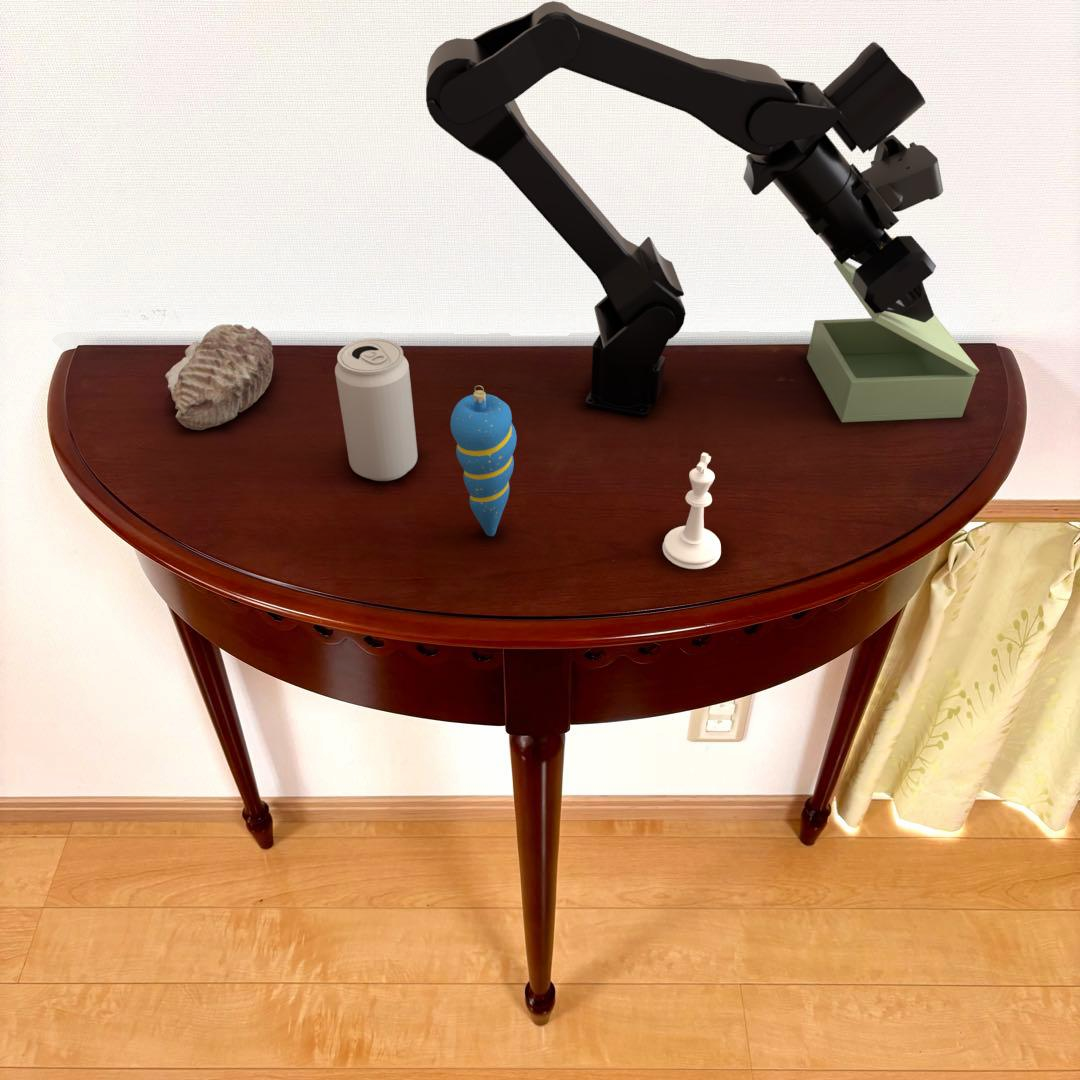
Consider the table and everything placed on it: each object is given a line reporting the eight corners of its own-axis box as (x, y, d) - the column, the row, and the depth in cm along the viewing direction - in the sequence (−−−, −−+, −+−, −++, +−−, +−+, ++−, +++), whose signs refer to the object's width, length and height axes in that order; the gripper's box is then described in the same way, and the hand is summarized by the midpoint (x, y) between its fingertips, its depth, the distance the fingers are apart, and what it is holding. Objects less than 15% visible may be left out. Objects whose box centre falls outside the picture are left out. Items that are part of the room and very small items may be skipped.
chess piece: (730, 543, 82) (746, 448, 76) (705, 577, 79) (720, 481, 72) (678, 524, 84) (690, 429, 78) (652, 555, 81) (662, 460, 74)
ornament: (510, 558, 81) (506, 408, 71) (451, 550, 81) (439, 400, 72) (523, 519, 85) (521, 372, 75) (467, 512, 85) (457, 365, 75)
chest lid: (874, 321, 89) (915, 271, 86) (833, 262, 98) (869, 215, 95) (974, 376, 93) (1017, 331, 90) (926, 315, 103) (963, 272, 100)
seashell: (189, 333, 104) (213, 269, 96) (271, 373, 107) (301, 314, 100) (139, 429, 95) (161, 366, 87) (230, 468, 98) (259, 411, 91)
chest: (841, 422, 96) (851, 382, 93) (806, 358, 105) (814, 320, 102) (962, 417, 97) (975, 377, 94) (916, 354, 106) (927, 315, 103)
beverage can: (390, 437, 94) (377, 327, 86) (432, 465, 90) (422, 353, 83) (336, 464, 91) (317, 353, 83) (378, 495, 87) (362, 381, 79)
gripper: (942, 158, 76) (1030, 283, 84) (864, 87, 90) (946, 199, 98) (825, 256, 80) (919, 365, 88) (768, 173, 94) (854, 274, 102)
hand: (911, 295), depth 94 cm, fingers open, 9 cm apart
